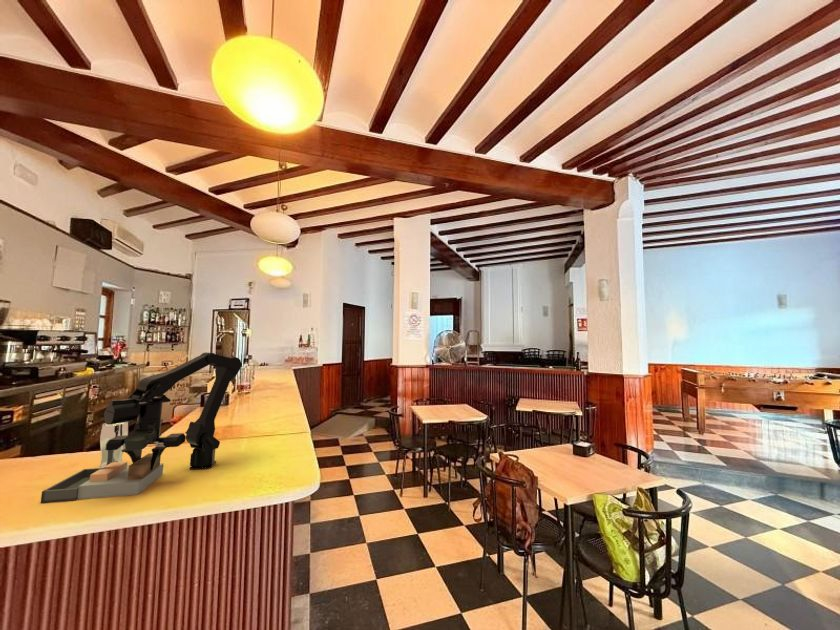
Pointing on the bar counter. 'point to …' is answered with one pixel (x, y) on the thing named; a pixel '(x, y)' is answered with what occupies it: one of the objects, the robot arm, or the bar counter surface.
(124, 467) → the tile
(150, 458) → the brown wooden plank
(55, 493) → the tray
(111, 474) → the tile
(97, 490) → the board
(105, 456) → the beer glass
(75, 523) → the bar counter surface
